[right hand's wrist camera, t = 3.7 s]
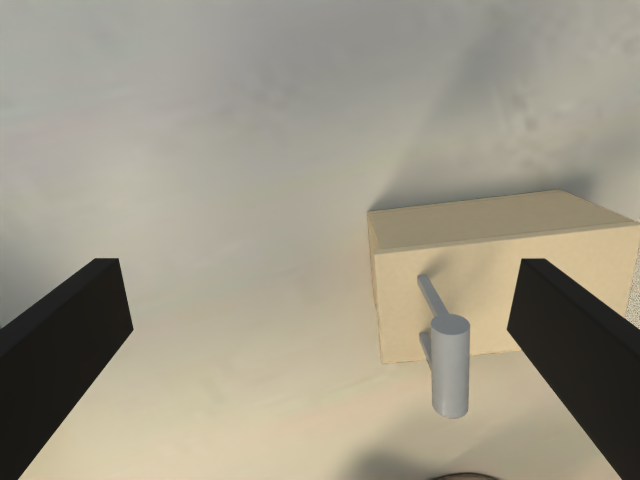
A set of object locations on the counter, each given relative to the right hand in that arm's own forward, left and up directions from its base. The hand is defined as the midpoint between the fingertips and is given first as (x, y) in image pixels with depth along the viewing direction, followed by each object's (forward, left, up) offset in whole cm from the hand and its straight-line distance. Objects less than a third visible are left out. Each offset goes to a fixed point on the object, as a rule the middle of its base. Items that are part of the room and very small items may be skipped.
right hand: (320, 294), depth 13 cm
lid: (0, -15, -14) cm, 21 cm away
